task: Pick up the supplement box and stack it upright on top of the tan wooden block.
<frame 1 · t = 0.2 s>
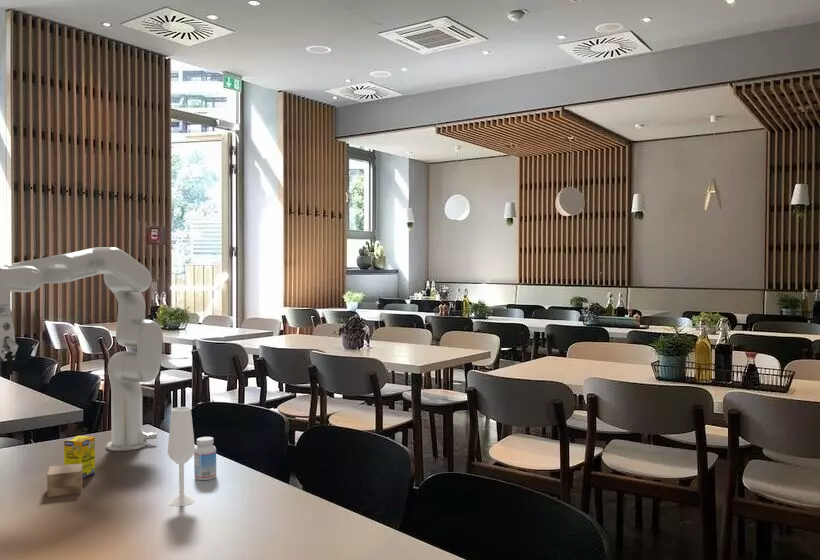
champagne flute: (181, 502, 177), on the table
pill bottle: (205, 478, 197), on the table
tan wooden block: (65, 491, 185), on the table
supplement box: (79, 476, 198), on the table
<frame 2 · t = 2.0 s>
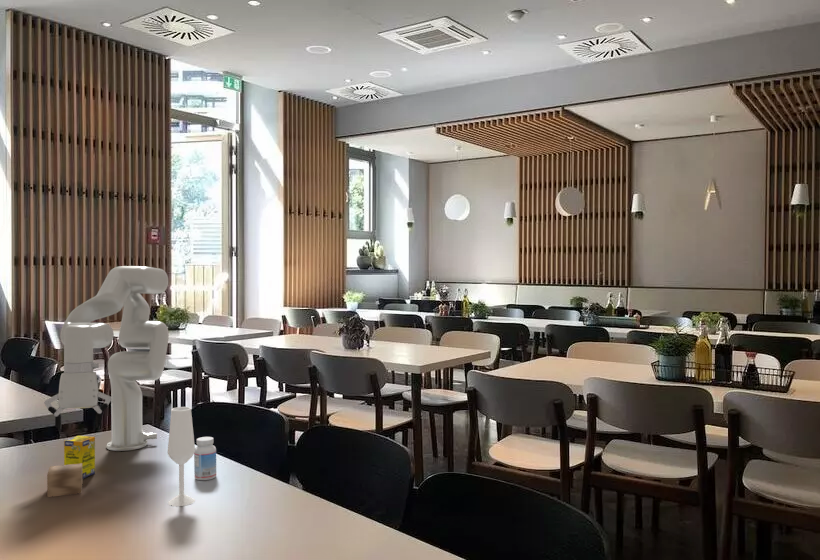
hand: (78, 428, 197), 14 cm above the table, tool pointing down, fingers open, 9 cm apart
nothing on the table moved.
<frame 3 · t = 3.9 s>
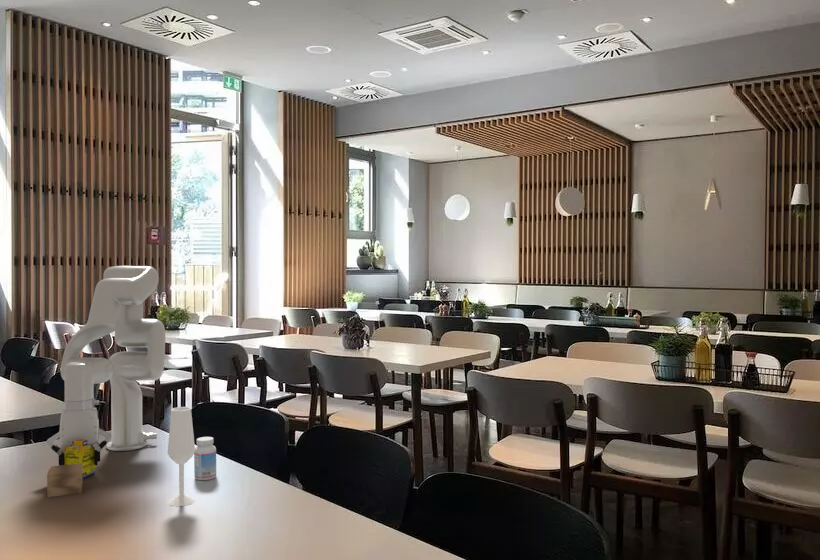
hand: (79, 465, 197), 3 cm above the table, tool pointing down, fingers closed on supplement box, 8 cm apart
supplement box: (79, 476, 198), on the table, touching gripper
everything else where it was.
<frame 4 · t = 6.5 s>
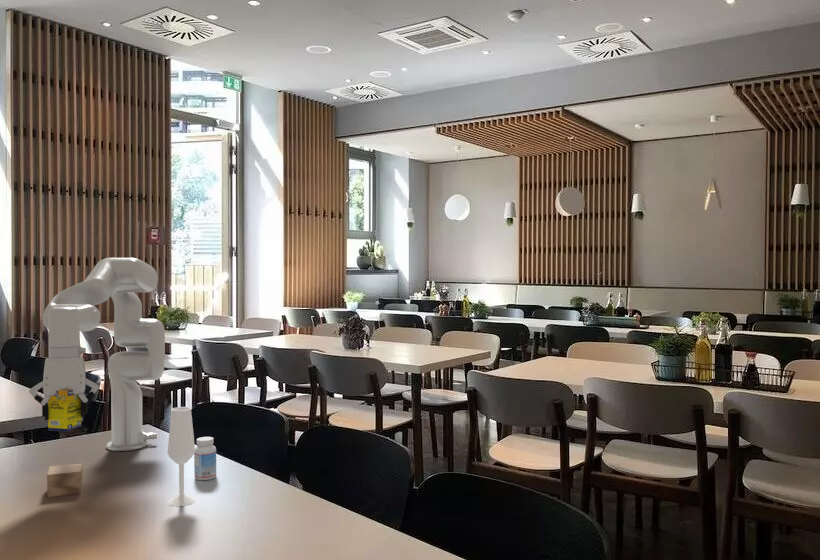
hand: (65, 417, 185), 20 cm above the table, tool pointing down, fingers closed on supplement box, 8 cm apart
supplement box: (65, 429, 185), point 16 cm above the table, touching gripper
everything else where it was.
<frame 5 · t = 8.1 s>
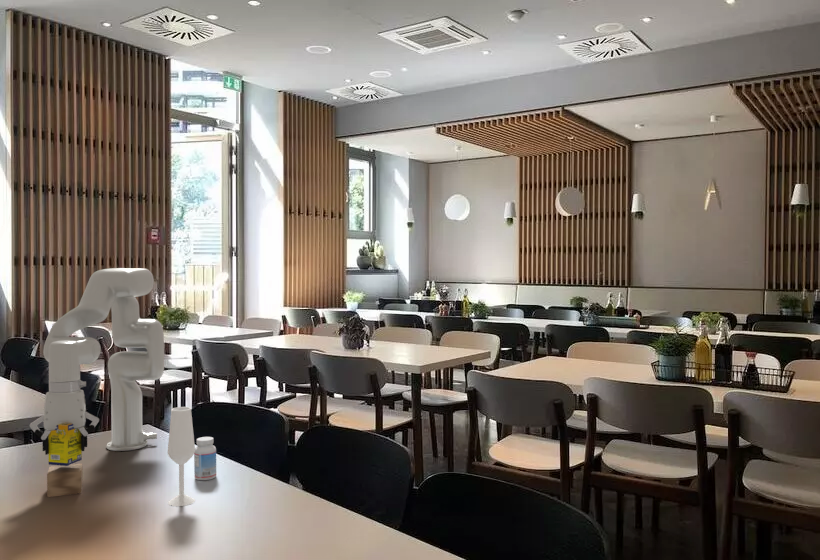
hand: (65, 451, 185), 11 cm above the table, tool pointing down, fingers closed on supplement box, 8 cm apart
supplement box: (65, 463, 185), point 7 cm above the table, touching gripper
everything else where it was.
when the fingers open (10 cm above the table, at t = 9.1 s): supplement box drops 2 cm, resting on tan wooden block.
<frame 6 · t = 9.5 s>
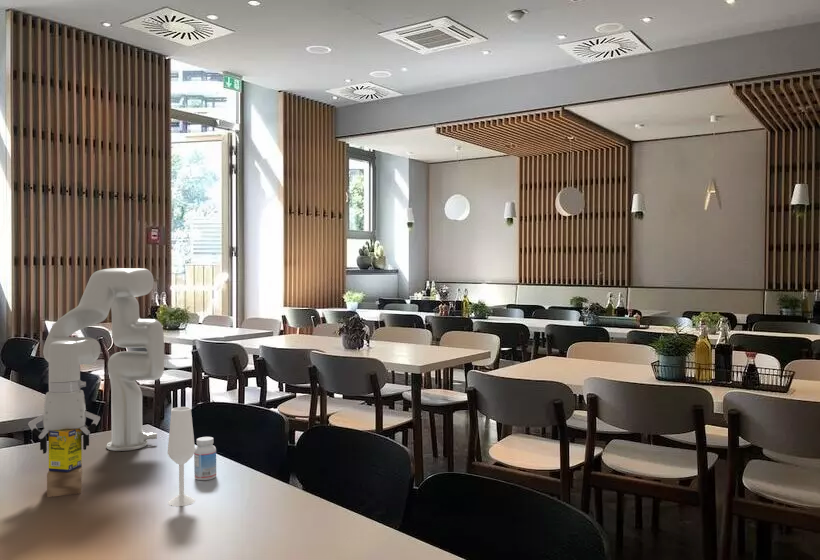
hand: (65, 450, 185), 11 cm above the table, tool pointing down, fingers open, 9 cm apart
tan wooden block: (65, 491, 185), on the table, touching supplement box
supplement box: (65, 469, 185), point 6 cm above the table, touching tan wooden block
everything else where it was.
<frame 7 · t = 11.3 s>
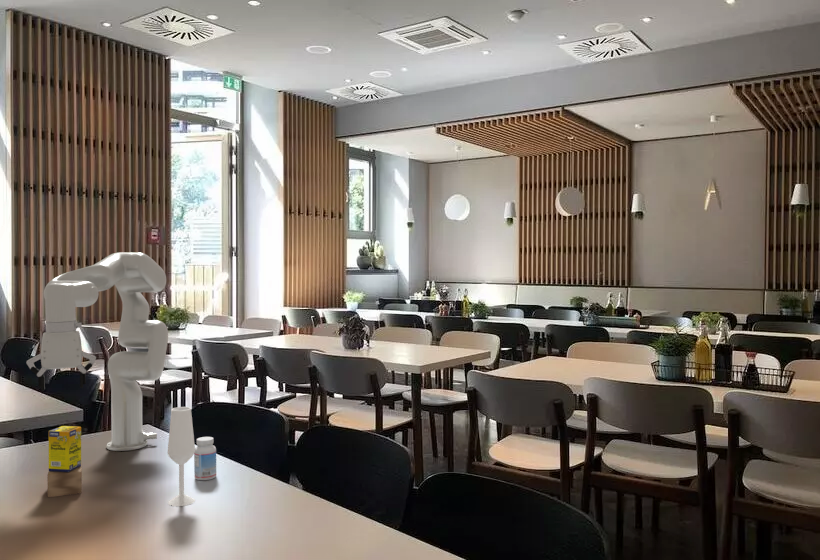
hand: (62, 388, 192), 26 cm above the table, tool pointing down, fingers open, 9 cm apart
tan wooden block: (65, 491, 185), on the table
supplement box: (65, 469, 185), point 6 cm above the table
everything else where it was.
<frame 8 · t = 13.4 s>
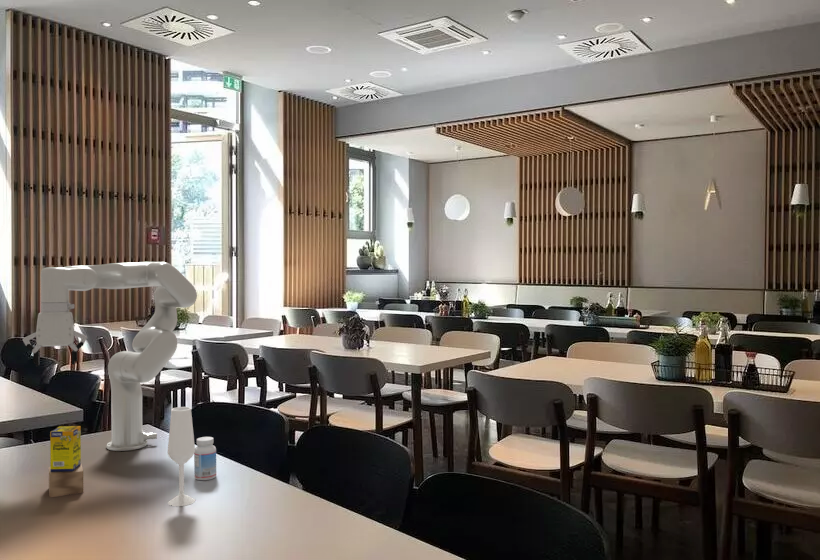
hand: (55, 364, 208), 30 cm above the table, tool pointing down, fingers open, 9 cm apart
tan wooden block: (65, 491, 185), on the table, touching supplement box
supplement box: (66, 469, 185), point 6 cm above the table, touching tan wooden block
everything else where it was.
at the end: supplement box 0.3 cm off-centre on the tan wooden block, point 5.8 cm above the tan wooden block's base; supplement box tilted 1°; the gripper is holding nothing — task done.
